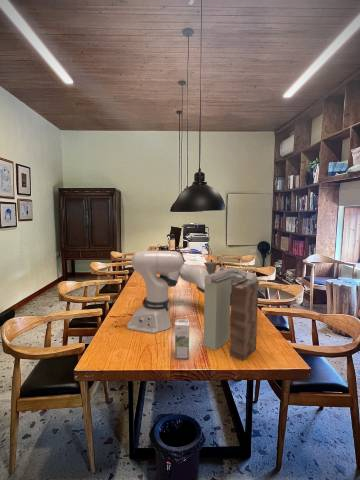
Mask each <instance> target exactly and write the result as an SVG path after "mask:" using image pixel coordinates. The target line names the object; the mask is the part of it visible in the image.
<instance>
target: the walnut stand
mask: <svg viewBox="0 0 360 480" xmlns="http://www.w3.org/2000/svg"><path fill="white" fill-rule="evenodd" d="M247 280H248V279H244V280H241V281H239V282H236V283H234V284H232V291H231V306H230V328H229V357H231V358H234V359H237V360H240V361H245V360H246V359H247V358H248V357H249V356H250V355H252V354H253V352H255V351H256V350H257V333H258V330H257V329H258V309H259V308H258V307H259V306H258V305H259V284H260V282H259V281H260V280H259V281H255V282H248V281H247Z"/></svg>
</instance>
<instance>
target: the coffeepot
mask: <svg viewBox="0 0 360 480" xmlns="http://www.w3.org/2000/svg"><path fill="white" fill-rule="evenodd" d="M203 264H204V266H205V267H206V270H207V271H208V274H213V273H216V270H217V266H219V267H218V268H220V267H223V266H222V264H221V262H214V261H213V259H210V261H209V262H207V261H206V262H203Z"/></svg>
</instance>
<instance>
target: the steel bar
mask: <svg viewBox="0 0 360 480" xmlns="http://www.w3.org/2000/svg"><path fill="white" fill-rule="evenodd" d="M225 269H226V270H222V271H219V272H216V271H215V273H213V274H209V275H206V276H205V283H208V284H213V283H214V282H215V281H216V280H219V279H222V278H224V277H227V276H231V277H232V276H235V275H237V270H238V269H237V268H233V267H230V268H225Z"/></svg>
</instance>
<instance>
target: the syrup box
mask: <svg viewBox="0 0 360 480" xmlns="http://www.w3.org/2000/svg"><path fill="white" fill-rule="evenodd" d="M174 359H175V360H176V359H177V360H180V359H181V360H182V359H183V360H185V359H186V360H187V359H188V360H189V359H190V322H189V319H174Z"/></svg>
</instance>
